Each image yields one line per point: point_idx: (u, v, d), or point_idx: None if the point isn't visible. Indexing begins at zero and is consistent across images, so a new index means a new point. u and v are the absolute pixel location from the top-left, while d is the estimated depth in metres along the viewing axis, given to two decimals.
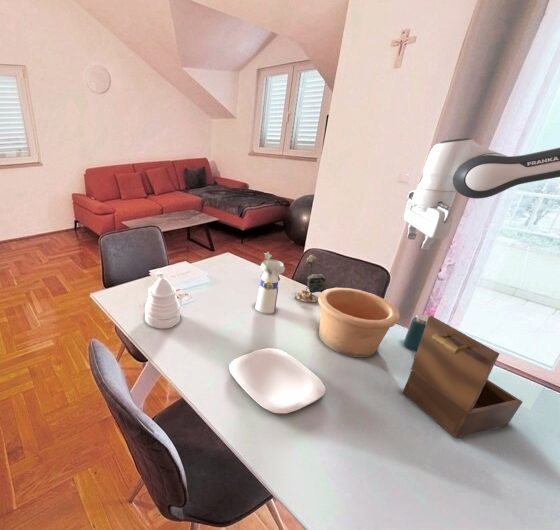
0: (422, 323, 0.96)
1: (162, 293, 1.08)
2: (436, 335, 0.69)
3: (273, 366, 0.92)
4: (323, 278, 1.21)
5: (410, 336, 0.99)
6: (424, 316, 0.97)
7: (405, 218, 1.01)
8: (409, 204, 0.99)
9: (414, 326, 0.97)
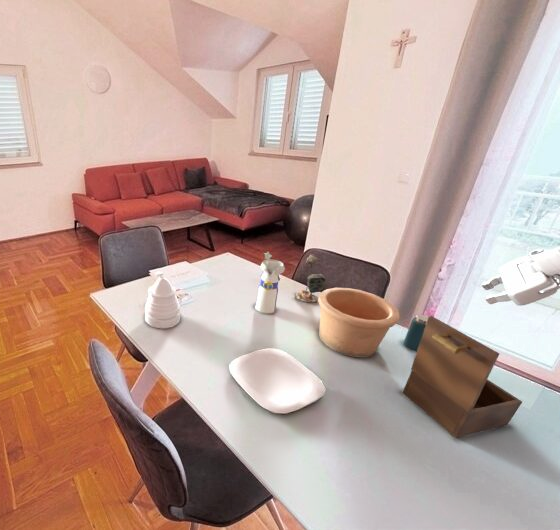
0: (422, 323, 0.96)
1: (162, 293, 1.08)
2: (436, 335, 0.69)
3: (273, 366, 0.92)
4: (323, 278, 1.21)
5: (410, 336, 0.99)
6: (424, 316, 0.97)
7: (501, 268, 0.89)
8: (523, 259, 0.85)
9: (414, 326, 0.97)
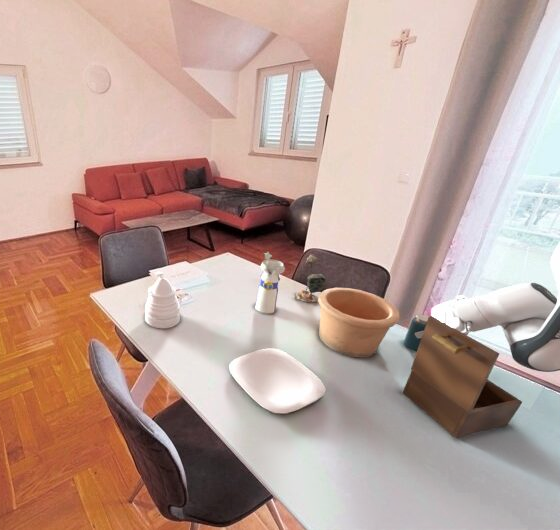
0: (422, 323, 0.96)
1: (162, 293, 1.08)
2: (436, 335, 0.69)
3: (273, 366, 0.92)
4: (323, 278, 1.21)
5: (410, 336, 0.99)
6: (424, 316, 0.97)
7: (434, 308, 1.01)
8: (450, 302, 0.98)
9: (414, 326, 0.97)
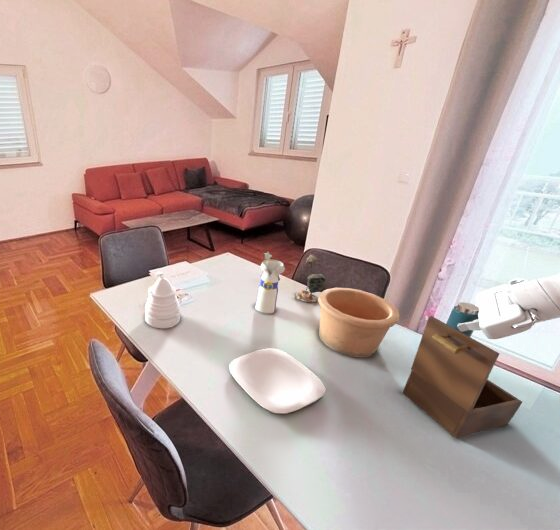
0: (467, 313, 0.77)
1: (162, 293, 1.08)
2: (436, 335, 0.69)
3: (273, 366, 0.92)
4: (323, 278, 1.21)
5: None
6: (468, 304, 0.79)
7: (479, 295, 0.82)
8: (501, 287, 0.79)
9: (456, 316, 0.79)
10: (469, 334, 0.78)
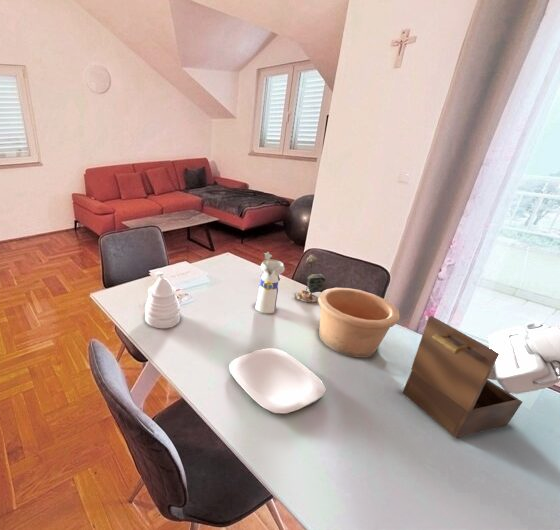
0: None
1: (162, 293, 1.08)
2: (436, 335, 0.69)
3: (273, 366, 0.92)
4: (323, 278, 1.21)
5: None
6: None
7: (492, 336, 0.76)
8: (517, 330, 0.72)
9: None
10: None
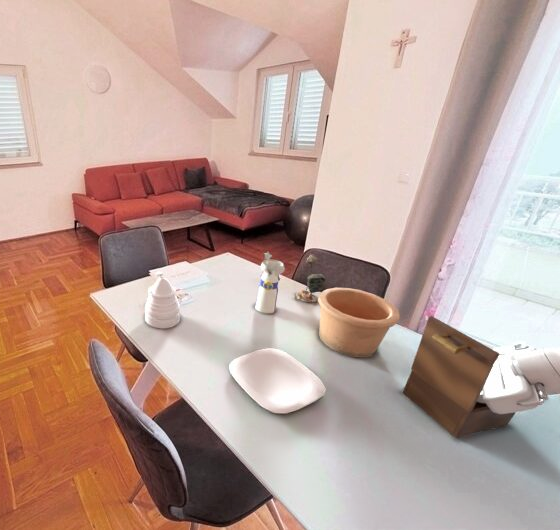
0: None
1: (162, 293, 1.08)
2: (436, 335, 0.69)
3: (273, 366, 0.92)
4: (323, 278, 1.21)
5: None
6: None
7: None
8: (505, 350, 0.75)
9: None
10: None
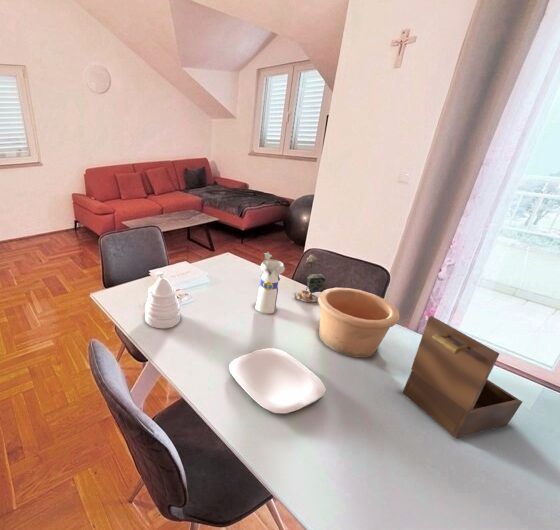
0: None
1: (162, 293, 1.08)
2: (436, 335, 0.69)
3: (273, 366, 0.92)
4: (323, 278, 1.21)
5: None
6: None
7: None
8: None
9: None
10: None
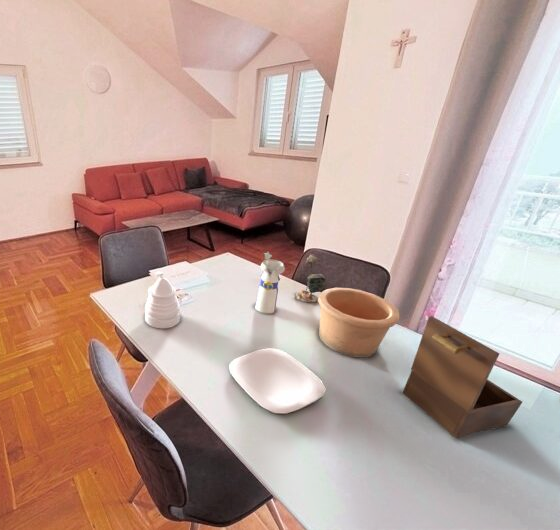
0: None
1: (162, 293, 1.08)
2: (436, 335, 0.69)
3: (273, 366, 0.92)
4: (323, 278, 1.21)
5: None
6: None
7: None
8: None
9: None
10: None
